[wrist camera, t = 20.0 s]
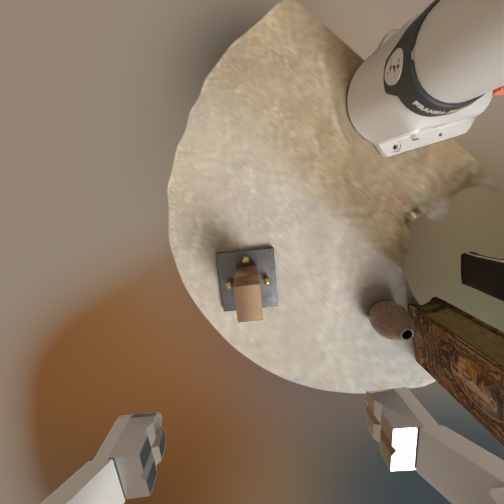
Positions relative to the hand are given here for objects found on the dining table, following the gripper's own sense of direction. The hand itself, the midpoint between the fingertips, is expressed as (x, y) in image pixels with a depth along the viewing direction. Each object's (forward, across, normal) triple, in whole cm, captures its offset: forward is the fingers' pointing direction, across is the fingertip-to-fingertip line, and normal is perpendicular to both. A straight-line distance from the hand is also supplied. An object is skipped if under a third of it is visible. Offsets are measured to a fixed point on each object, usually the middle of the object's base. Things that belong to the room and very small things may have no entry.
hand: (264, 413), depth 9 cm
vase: (+37, -26, +18) cm, 49 cm away
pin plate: (+37, +1, +8) cm, 38 cm away
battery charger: (+37, -44, +10) cm, 59 cm away
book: (+37, -36, +24) cm, 57 cm away
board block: (+36, +1, +8) cm, 37 cm away
